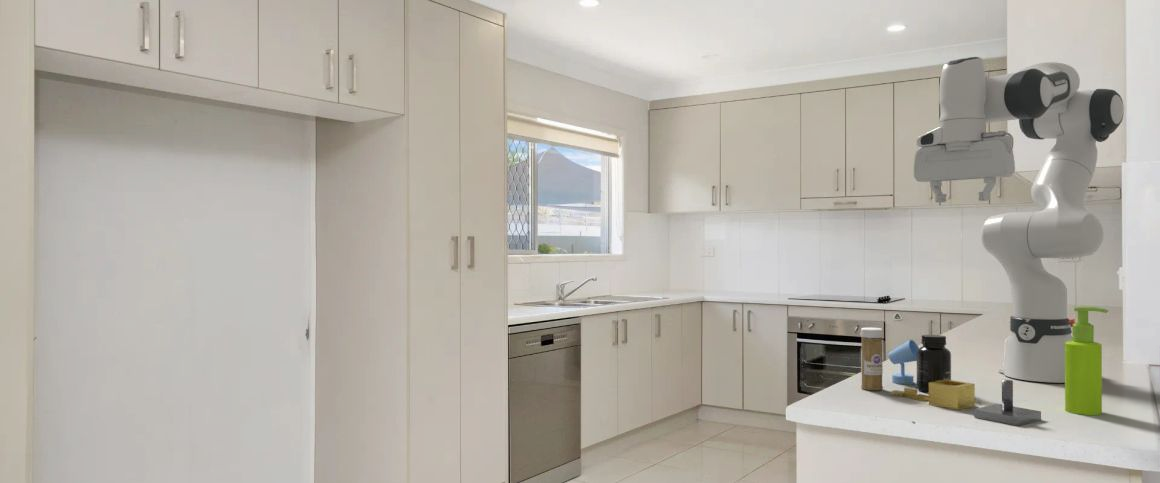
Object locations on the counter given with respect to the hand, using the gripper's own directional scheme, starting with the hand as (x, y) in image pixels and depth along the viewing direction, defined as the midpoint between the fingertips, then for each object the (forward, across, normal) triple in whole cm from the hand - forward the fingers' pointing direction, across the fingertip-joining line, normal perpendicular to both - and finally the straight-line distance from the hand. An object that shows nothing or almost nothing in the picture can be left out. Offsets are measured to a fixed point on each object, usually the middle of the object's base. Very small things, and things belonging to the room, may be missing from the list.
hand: (962, 201), depth 160 cm
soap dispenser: (+41, -21, -6) cm, 46 cm away
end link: (+41, -3, +9) cm, 42 cm away
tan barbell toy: (+41, +6, +9) cm, 42 cm away
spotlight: (+41, +16, -4) cm, 44 cm away
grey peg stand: (+41, -15, +11) cm, 45 cm away
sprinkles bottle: (+41, +16, +8) cm, 45 cm away
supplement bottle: (+41, +7, -1) cm, 42 cm away
